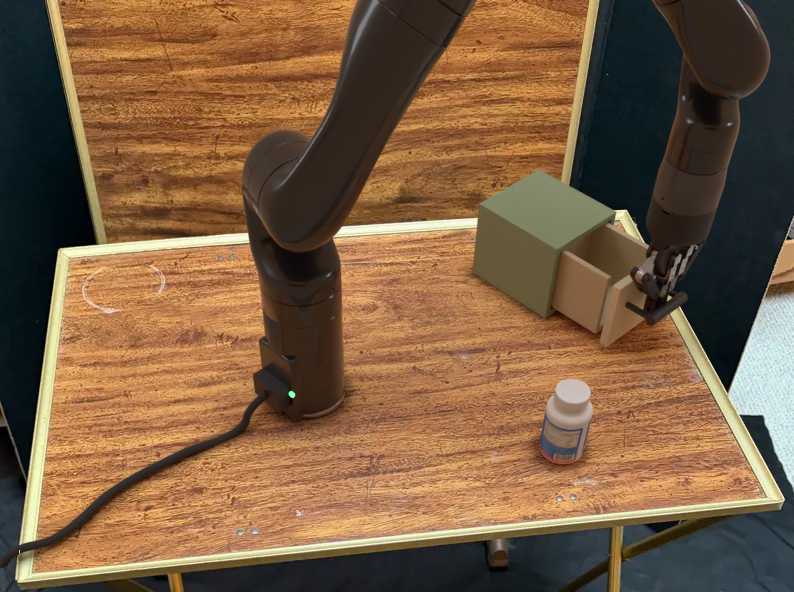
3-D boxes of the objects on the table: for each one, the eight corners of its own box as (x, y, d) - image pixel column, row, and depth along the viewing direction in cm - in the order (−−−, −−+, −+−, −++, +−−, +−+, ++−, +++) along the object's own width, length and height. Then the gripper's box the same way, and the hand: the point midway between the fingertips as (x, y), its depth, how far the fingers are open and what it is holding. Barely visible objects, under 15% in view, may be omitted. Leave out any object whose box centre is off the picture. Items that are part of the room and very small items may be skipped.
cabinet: (601, 280, 137) (616, 211, 128) (544, 318, 132) (557, 249, 123) (528, 237, 143) (539, 169, 134) (472, 272, 138) (479, 203, 129)
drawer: (685, 328, 130) (704, 270, 122) (635, 365, 125) (651, 308, 118) (585, 268, 137) (597, 210, 130) (534, 302, 133) (543, 244, 125)
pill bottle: (558, 426, 120) (571, 366, 112) (592, 450, 117) (608, 390, 109) (528, 448, 117) (539, 389, 109) (563, 473, 115) (576, 414, 107)
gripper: (693, 159, 116) (659, 278, 130) (625, 202, 111) (597, 322, 124) (746, 185, 113) (706, 304, 127) (679, 231, 107) (644, 351, 121)
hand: (652, 313), depth 126 cm, fingers closed
